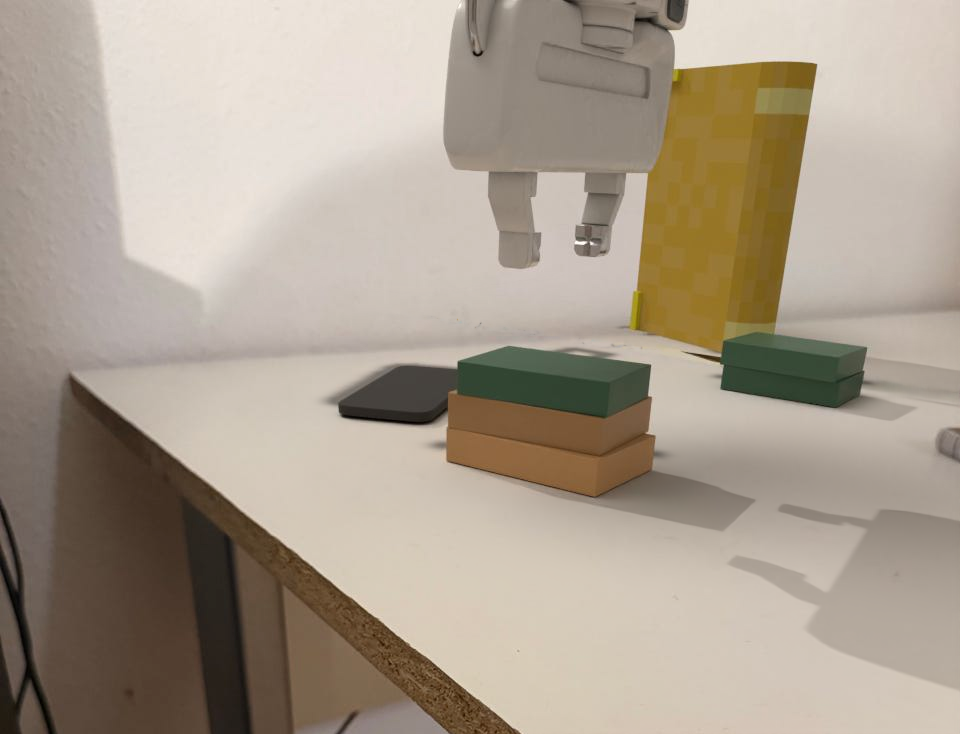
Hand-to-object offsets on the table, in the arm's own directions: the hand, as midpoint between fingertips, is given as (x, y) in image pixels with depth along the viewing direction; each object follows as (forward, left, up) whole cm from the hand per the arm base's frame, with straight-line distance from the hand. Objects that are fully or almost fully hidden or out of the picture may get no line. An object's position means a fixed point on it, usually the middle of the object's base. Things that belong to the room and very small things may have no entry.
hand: (557, 261), depth 55 cm
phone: (+18, -8, -12) cm, 23 cm away
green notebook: (0, 0, -8) cm, 8 cm away
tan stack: (0, 0, -12) cm, 12 cm away
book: (+10, -45, -12) cm, 48 cm away
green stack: (-4, -32, -12) cm, 35 cm away
